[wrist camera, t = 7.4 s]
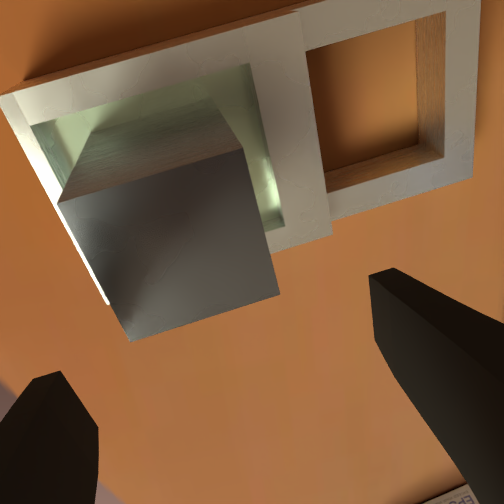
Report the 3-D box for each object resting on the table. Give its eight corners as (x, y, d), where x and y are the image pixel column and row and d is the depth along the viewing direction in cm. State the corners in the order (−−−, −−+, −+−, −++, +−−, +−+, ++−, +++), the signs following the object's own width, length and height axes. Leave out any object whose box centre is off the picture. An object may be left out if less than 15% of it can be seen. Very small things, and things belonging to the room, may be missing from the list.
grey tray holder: (447, -39, 16) (504, -48, 13) (445, 162, 20) (488, 185, 17) (21, 81, 15) (-5, 97, 12) (113, 264, 19) (106, 304, 17)
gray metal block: (211, 97, 14) (242, 147, 9) (241, 205, 17) (280, 294, 12) (90, 132, 14) (56, 203, 9) (136, 237, 16) (130, 342, 11)
